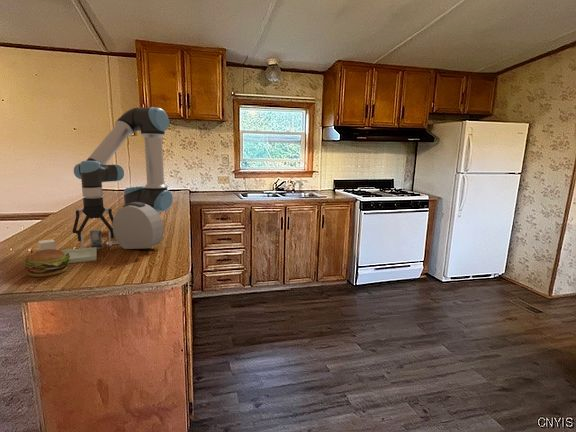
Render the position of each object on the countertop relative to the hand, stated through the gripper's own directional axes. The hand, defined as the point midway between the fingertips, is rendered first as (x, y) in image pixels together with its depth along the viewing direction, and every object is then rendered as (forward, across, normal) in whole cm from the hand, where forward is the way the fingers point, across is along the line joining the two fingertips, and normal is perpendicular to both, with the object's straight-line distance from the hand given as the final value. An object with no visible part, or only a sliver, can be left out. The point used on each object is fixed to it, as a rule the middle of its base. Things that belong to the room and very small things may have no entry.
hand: (96, 246), depth 154 cm
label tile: (+1, -7, -6) cm, 9 cm away
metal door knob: (+1, 0, 0) cm, 1 cm away
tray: (+1, +7, +12) cm, 14 cm away
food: (+1, +15, +27) cm, 31 cm away
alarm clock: (0, -18, +8) cm, 19 cm away
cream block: (+1, +18, 0) cm, 18 cm away
